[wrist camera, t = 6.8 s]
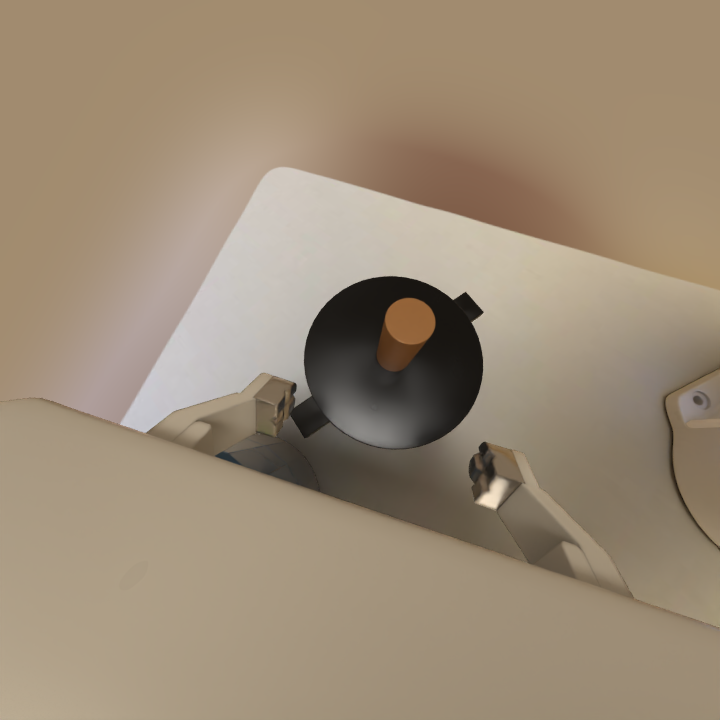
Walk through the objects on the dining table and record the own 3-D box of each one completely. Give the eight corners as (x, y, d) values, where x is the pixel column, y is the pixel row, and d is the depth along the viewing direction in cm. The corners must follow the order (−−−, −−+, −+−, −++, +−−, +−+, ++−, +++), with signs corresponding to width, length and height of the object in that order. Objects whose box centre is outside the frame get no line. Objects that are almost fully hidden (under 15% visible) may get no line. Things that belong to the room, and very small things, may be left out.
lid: (275, 339, 21) (229, 290, 13) (406, 257, 23) (429, 175, 15) (372, 487, 18) (381, 530, 11) (511, 379, 20) (602, 351, 13)
